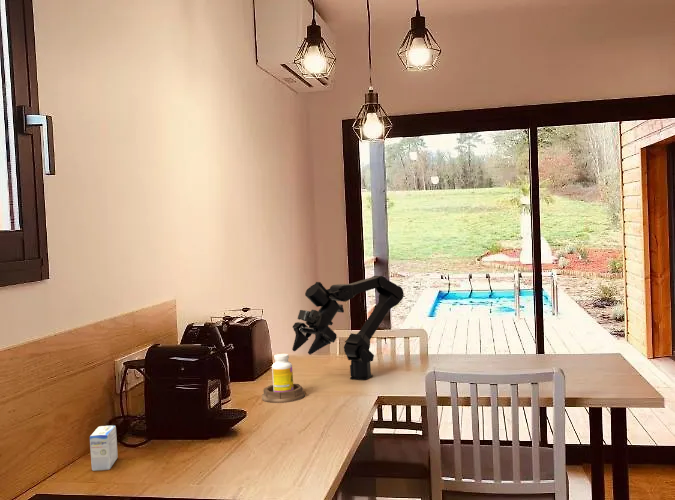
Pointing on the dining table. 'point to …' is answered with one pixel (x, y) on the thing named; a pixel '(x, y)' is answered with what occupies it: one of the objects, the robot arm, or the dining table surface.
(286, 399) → the cup stand
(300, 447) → the dining table surface
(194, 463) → the dining table surface
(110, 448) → the medicine box
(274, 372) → the supplement bottle
